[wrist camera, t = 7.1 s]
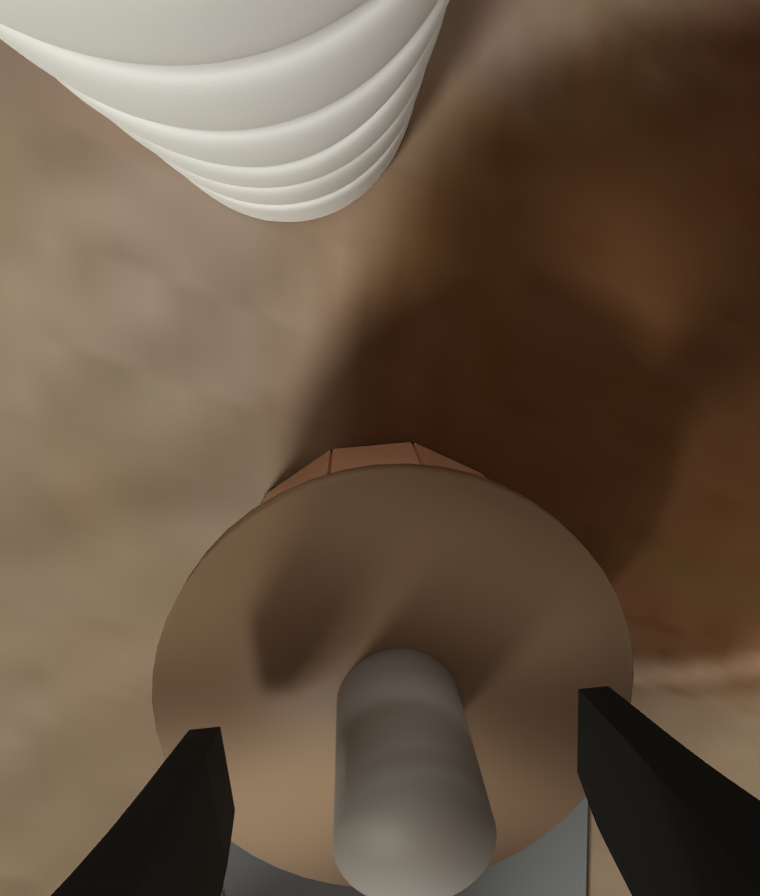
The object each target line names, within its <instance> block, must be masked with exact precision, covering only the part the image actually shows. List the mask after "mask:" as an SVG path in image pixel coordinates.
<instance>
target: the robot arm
mask: <svg viewBox="0 0 760 896" xmlns="http://www.w3.org/2000/svg"><path fill="white" fill-rule="evenodd" d="M577 773H578V776H579V779H580V781H581V784H582V787H583V790H584V792H585V795H586V798H587V801H588V803H589V806H590V808H591V811H592V814H593V816H594V819H595V821H596V824H597V826H598V828H599V830H600V832H601V835H602V837H603V839H604V841H605V843H606V845H607V847H608V849H609V851H610V853H611V855H612V857H613V859H614V861H615V863H616V865H617V867H618V869H619V871H620V873H621V875H622V876H623V878H624V880H625V882H626V884H627V886H628V888H629V890H630V892H631V894H632V896H760V800H758V799H757V798H755V797H754V796H752V795H751V794H749V793H748V792H747V791H745V790H744V789H742V788H741V787H739V786H738V785H736V784H735V783H734V782H732V781H731V780H729V779H728V778H726V777H725V776H723V775H722V774H721V773H719V772H718V771H717V770H715V769H714V768H712V767H711V766H710V765H708V764H707V763H706V762H704V761H703V760H702V759H700V758H699V757H698V756H696V755H695V754H693V753H692V752H691V751H690V750H688V749H687V748H686V747H684V746H683V745H682V744H680V743H679V742H678V741H677V740H675V739H674V738H673V737H671V736H670V735H669V734H668V733H666V732H665V731H664V730H663V729H661V728H660V727H659V726H657V725H656V724H655V723H654V722H652V721H651V720H650V719H649V718H647V717H646V716H645V715H644V714H642V713H641V712H640V711H639V710H638V709H636V708H635V707H634V706H633V705H631V704H630V703H629V702H628V701H626V700H625V699H624V698H623V697H621V696H620V695H619V694H618V693H616V692H615V691H614V690H613V689H611V688H610V687H609V686H603V687H593V688H584V689H578V748H577ZM234 814H235V806H234V801H233V795H232V790H231V784H230V778H229V773H228V767H227V761H226V756H225V750H224V744H223V739H222V733H221V727H211V728H201V729H191V730H189V731H188V732H187V733H186V734H185V735H184V737H183V738H182V739H181V741H180V742H179V743H178V744H177V746H176V747H175V748H174V750H173V751H172V752H171V754H170V755H169V756H168V757H167V759H166V760H165V761H164V763H163V764H162V765H161V767H160V768H159V769H158V771H157V772H156V773H155V774H154V776H153V777H152V778H151V780H150V781H149V782H148V783H147V785H146V786H145V787H144V789H143V790H142V791H141V792H140V794H139V795H138V796H137V797H136V799H135V800H134V801H133V802H132V803H131V805H130V806H129V807H128V808H127V810H126V811H125V812H124V813H123V815H122V816H121V817H120V818H119V820H118V821H117V822H116V823H115V824H114V826H113V827H112V828H111V829H110V830H109V832H108V833H107V834H106V835H105V836H104V837H103V838H102V840H101V841H100V842H99V843H98V844H97V845H96V846H95V848H94V849H93V850H92V851H91V852H90V853H89V854H88V856H87V857H86V858H85V859H84V860H83V861H82V862H81V864H80V865H79V866H78V867H77V868H76V869H75V870H74V871H73V873H72V874H71V875H70V876H69V877H68V878H67V879H66V880H65V881H64V882H63V883H62V884H61V885H60V887H59V888H58V889H57V890H56V891H55V892H54V893H53V894H52V895H51V896H220V895H221V891H222V887H223V883H224V879H225V874H226V870H227V865H228V858H229V851H230V844H231V837H232V830H233V822H234Z"/></svg>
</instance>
